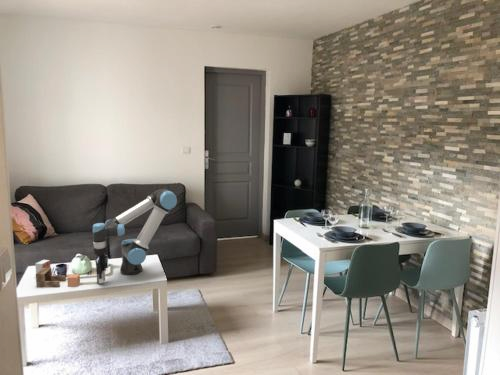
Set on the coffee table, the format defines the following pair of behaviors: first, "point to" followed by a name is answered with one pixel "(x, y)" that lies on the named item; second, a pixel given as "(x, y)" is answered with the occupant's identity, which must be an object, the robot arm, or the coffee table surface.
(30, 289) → the coffee table surface
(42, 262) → the small box
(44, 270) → the wooden toy block stack
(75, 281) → the tethered block
